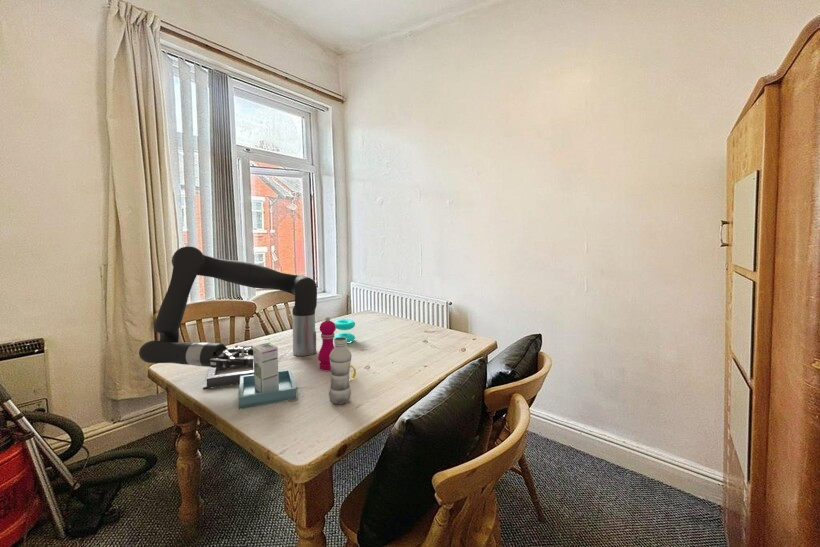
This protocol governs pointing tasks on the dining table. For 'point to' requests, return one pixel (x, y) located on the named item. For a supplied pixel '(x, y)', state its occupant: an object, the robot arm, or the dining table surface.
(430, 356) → the dining table surface
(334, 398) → the plastic bottle
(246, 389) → the tray
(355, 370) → the watch
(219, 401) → the dining table surface
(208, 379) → the metal socket
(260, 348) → the syrup box
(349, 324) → the donuts
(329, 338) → the pepper mill
